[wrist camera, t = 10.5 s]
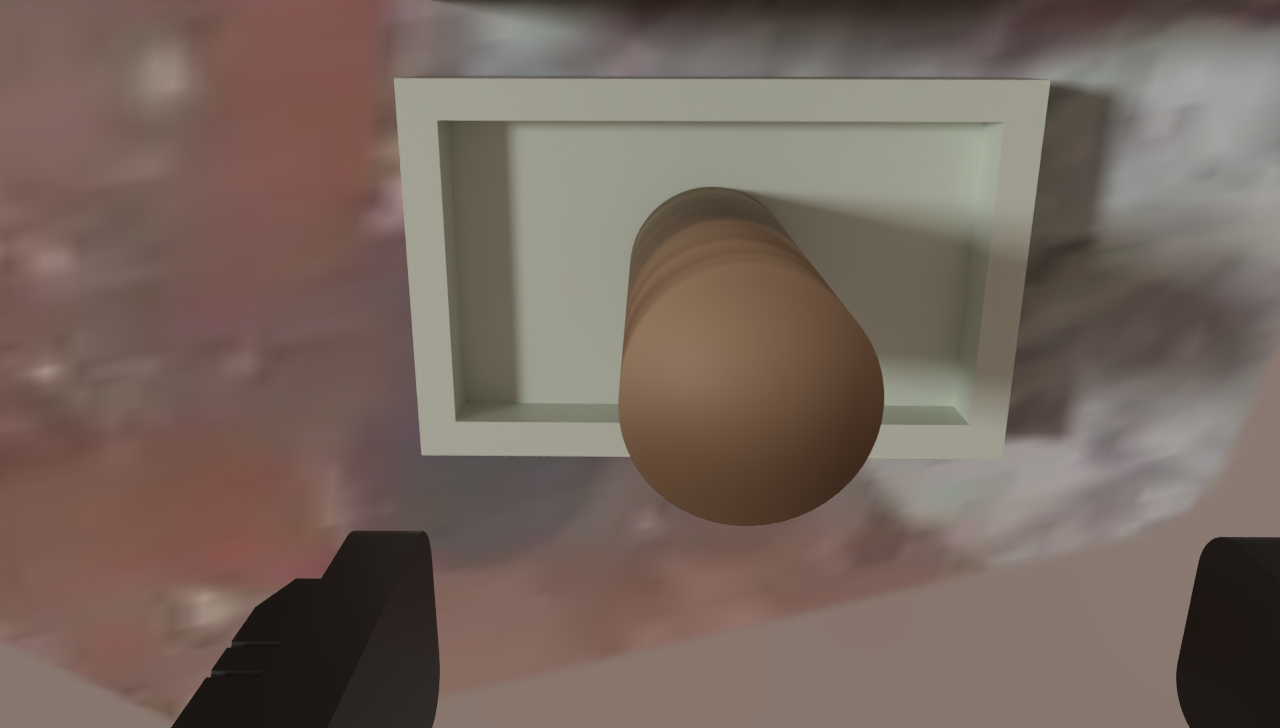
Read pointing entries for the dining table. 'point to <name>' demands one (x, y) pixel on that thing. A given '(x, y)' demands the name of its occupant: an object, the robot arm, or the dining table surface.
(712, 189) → the walnut pepper mill
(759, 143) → the sage tray
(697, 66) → the dining table surface
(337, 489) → the dining table surface
